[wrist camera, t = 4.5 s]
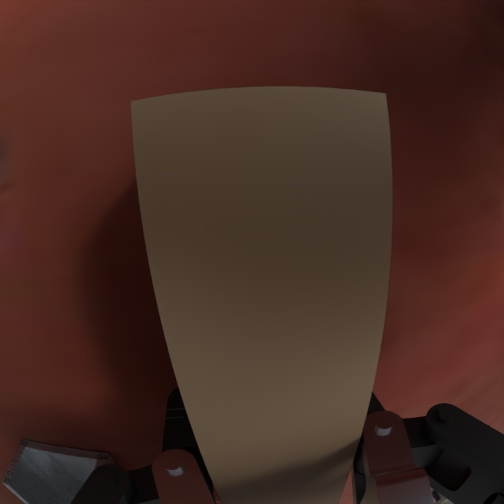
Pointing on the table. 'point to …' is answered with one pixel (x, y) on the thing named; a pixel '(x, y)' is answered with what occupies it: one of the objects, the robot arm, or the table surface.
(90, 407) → the table surface
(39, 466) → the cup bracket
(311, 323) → the rail
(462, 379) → the table surface
